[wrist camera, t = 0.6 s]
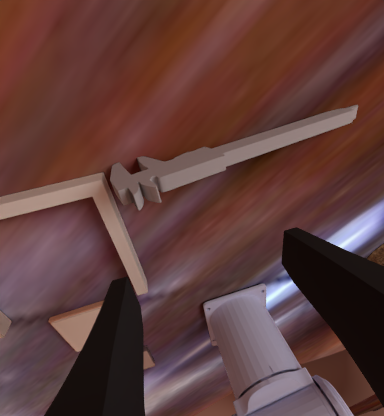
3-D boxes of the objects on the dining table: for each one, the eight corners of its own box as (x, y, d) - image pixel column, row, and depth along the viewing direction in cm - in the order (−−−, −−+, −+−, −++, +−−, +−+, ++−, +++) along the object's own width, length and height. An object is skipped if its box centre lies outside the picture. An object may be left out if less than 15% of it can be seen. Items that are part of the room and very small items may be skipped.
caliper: (117, 175, 17) (113, 219, 12) (112, 162, 17) (105, 202, 11) (351, 116, 20) (432, 132, 14) (353, 103, 19) (440, 113, 14)
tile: (129, 325, 27) (129, 335, 26) (77, 342, 26) (75, 353, 25) (110, 294, 23) (109, 304, 22) (51, 312, 23) (47, 323, 22)
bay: (146, 280, 23) (147, 292, 22) (0, 325, 21) (-8, 340, 20) (103, 172, 17) (101, 180, 15) (-111, 223, 15) (-133, 237, 14)
